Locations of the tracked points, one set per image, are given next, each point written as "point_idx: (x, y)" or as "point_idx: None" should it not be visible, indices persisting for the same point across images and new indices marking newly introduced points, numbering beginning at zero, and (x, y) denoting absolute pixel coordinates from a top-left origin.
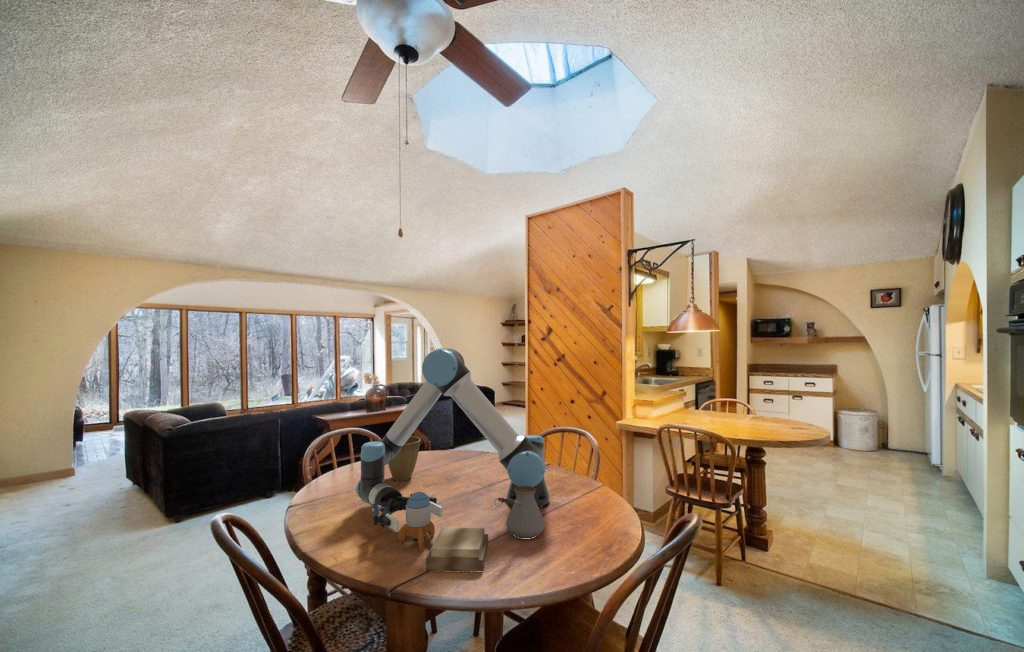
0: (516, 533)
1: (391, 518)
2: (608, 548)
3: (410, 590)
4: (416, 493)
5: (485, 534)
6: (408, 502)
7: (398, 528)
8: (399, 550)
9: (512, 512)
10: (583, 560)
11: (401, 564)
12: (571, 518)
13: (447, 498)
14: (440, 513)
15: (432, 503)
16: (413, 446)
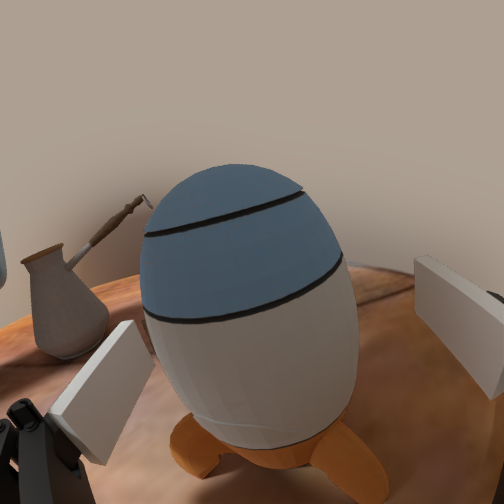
0: (107, 319)
1: (464, 279)
2: (101, 291)
3: (392, 276)
4: (238, 164)
5: (145, 322)
6: (325, 219)
7: (417, 299)
8: (399, 427)
9: (71, 297)
10: (138, 284)
11: (404, 344)
12: (21, 340)
13: None
14: (144, 349)
15: (85, 376)
16: None
